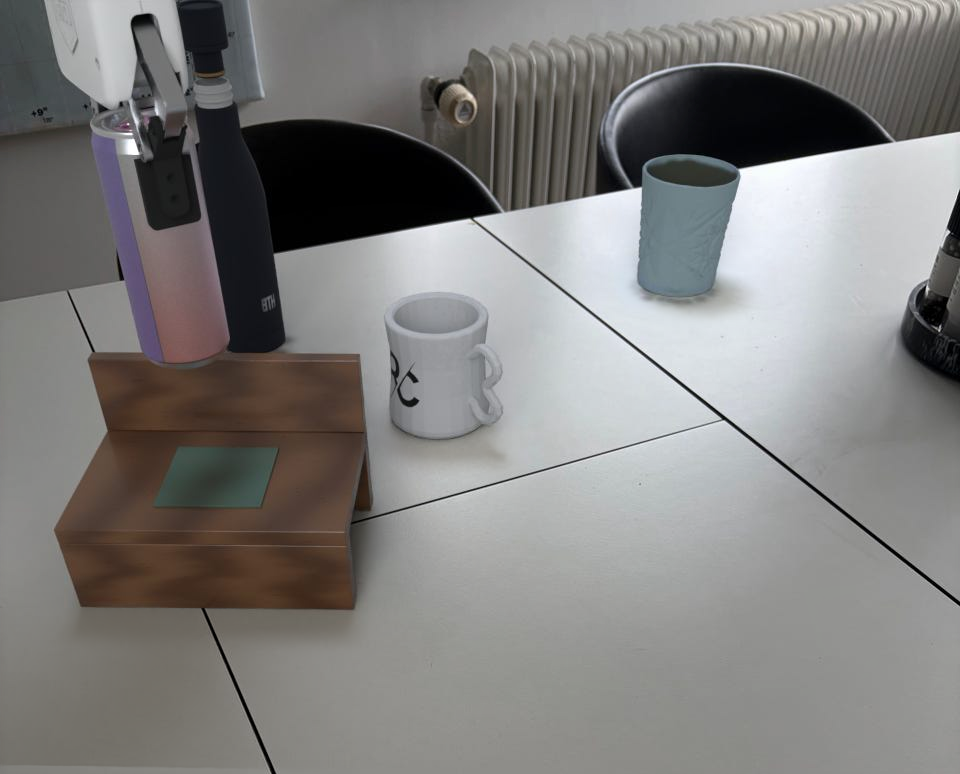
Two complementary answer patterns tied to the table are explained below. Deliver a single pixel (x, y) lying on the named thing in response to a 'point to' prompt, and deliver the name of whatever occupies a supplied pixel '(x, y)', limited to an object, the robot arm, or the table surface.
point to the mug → (441, 365)
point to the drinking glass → (684, 222)
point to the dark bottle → (231, 190)
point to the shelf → (221, 484)
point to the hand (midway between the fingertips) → (155, 204)
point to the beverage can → (161, 257)
